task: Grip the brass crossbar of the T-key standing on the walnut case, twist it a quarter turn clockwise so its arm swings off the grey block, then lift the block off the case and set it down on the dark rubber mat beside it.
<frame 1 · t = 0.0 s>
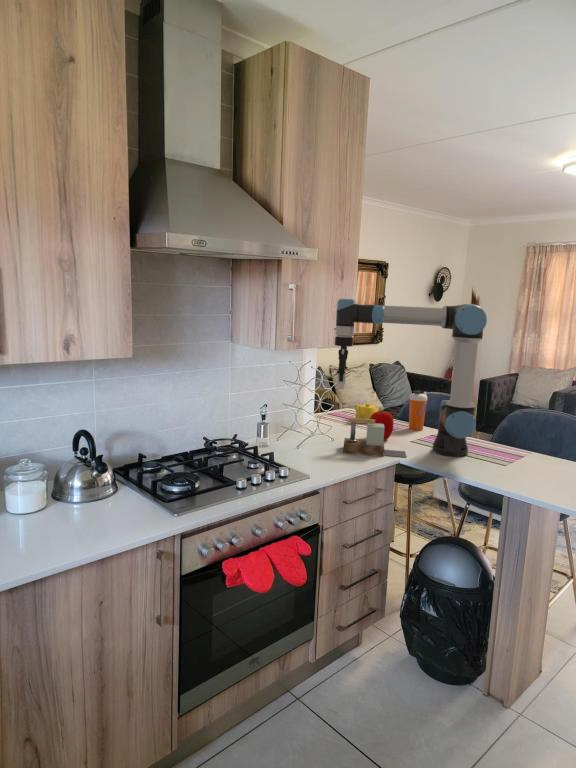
hand: (341, 386, 224), 28 cm above the worktop, fingers open, 13 cm apart
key: (361, 430, 228), point 9 cm above the worktop, hinge at 0.0°
tomato: (380, 439, 251), on the worktop
grey block: (374, 443, 228), point 4 cm above the worktop, touching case
mat: (395, 454, 227), on the worktop
teapot: (367, 422, 287), on the worktop
shaker bottle: (415, 429, 275), on the worktop
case: (363, 451, 229), on the worktop
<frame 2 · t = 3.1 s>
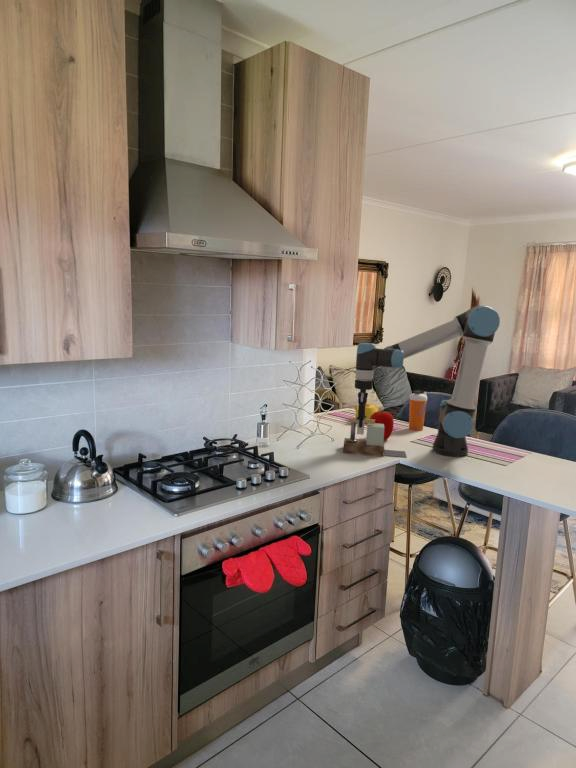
hand: (360, 433, 228), 8 cm above the worktop, fingers closed on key, 2 cm apart
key: (361, 430, 228), point 9 cm above the worktop, hinge at 0.3°, touching gripper
everything else where it was.
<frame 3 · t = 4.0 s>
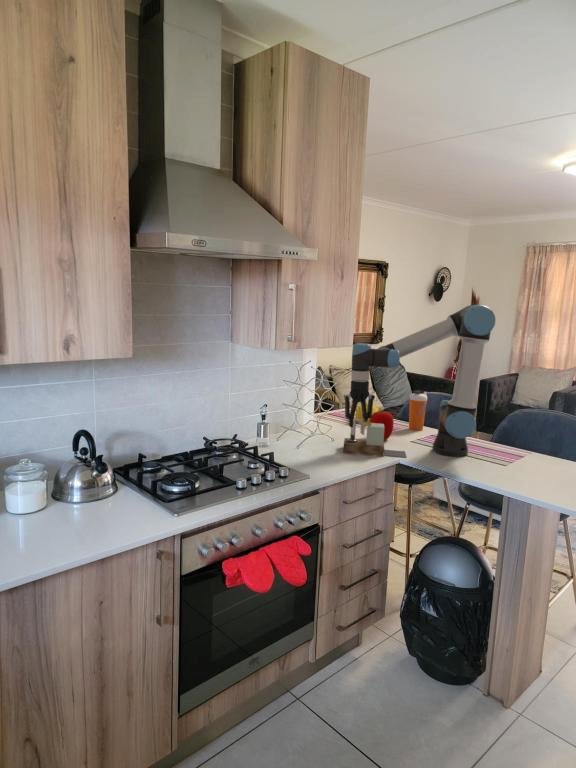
hand: (357, 434, 227), 8 cm above the worktop, fingers closed on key, 4 cm apart
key: (359, 431, 226), point 9 cm above the worktop, hinge at 40.4°, touching gripper
everything else where it was.
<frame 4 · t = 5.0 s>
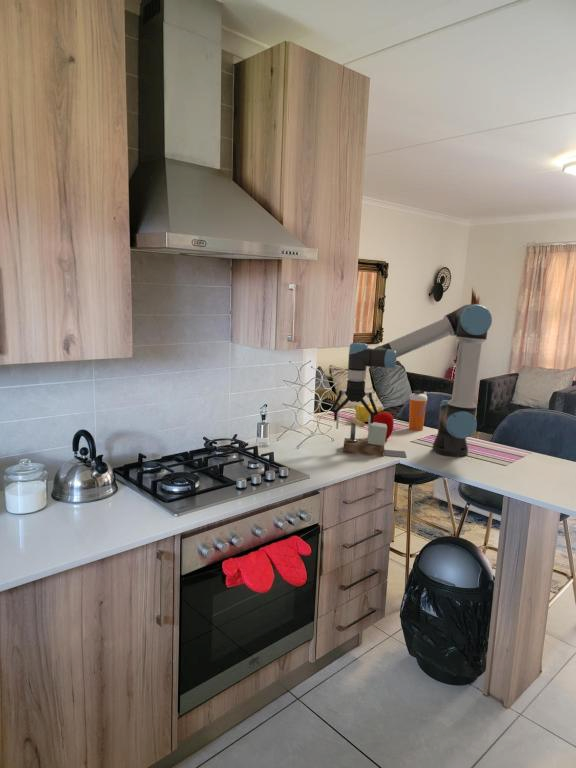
hand: (352, 429, 225), 10 cm above the worktop, fingers open, 13 cm apart
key: (356, 431, 225), point 9 cm above the worktop, hinge at 64.8°
grey block: (375, 442, 228), point 4 cm above the worktop, tilted 5°, touching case, gripper
everything else where it was.
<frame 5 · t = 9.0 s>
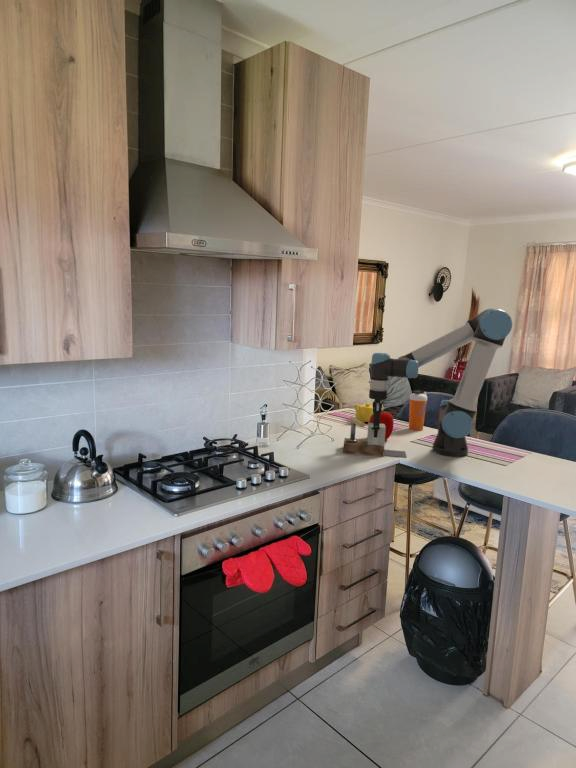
hand: (374, 441, 228), 5 cm above the worktop, fingers closed on grey block, 7 cm apart
grey block: (375, 443, 228), point 4 cm above the worktop, touching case, gripper
everything else where it was.
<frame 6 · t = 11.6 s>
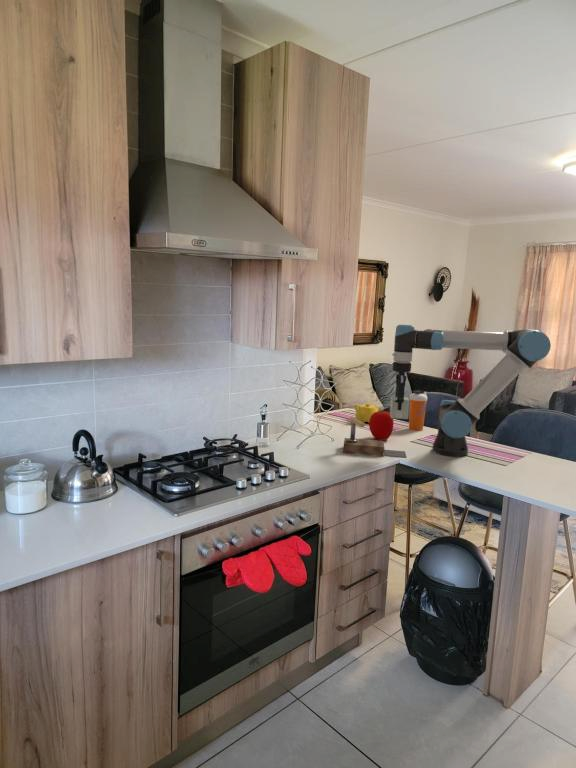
hand: (397, 415, 225), 17 cm above the worktop, fingers closed on grey block, 7 cm apart
grey block: (398, 416, 225), point 16 cm above the worktop, touching gripper
everything else where it was.
when the fingers open (3 cm above the worktop, at t = 14.4 s): grey block drops 2 cm, resting on mat.
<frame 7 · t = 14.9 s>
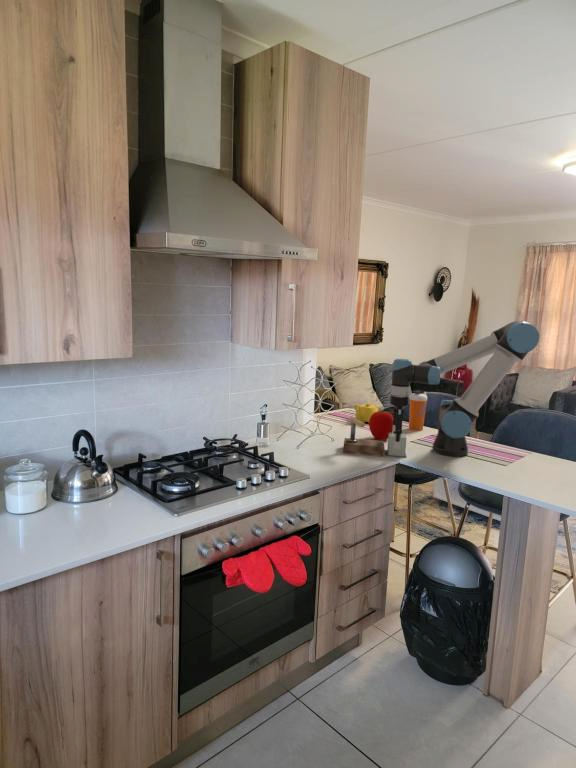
hand: (395, 444, 227), 4 cm above the worktop, fingers open, 13 cm apart
grey block: (396, 453, 227), resting on mat
everything else where it was.
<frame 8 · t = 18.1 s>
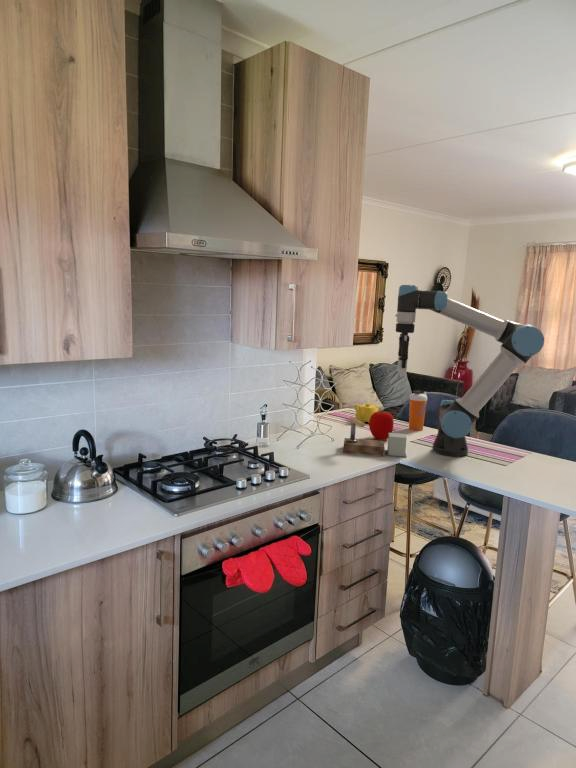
hand: (401, 373, 222), 35 cm above the worktop, fingers open, 13 cm apart
nothing on the worktop moved.
at the end: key at +65° (first picture: +0°); grey block inside the target area (0.4 cm from its centre), resting on mat; grey block tilted 0° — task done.
